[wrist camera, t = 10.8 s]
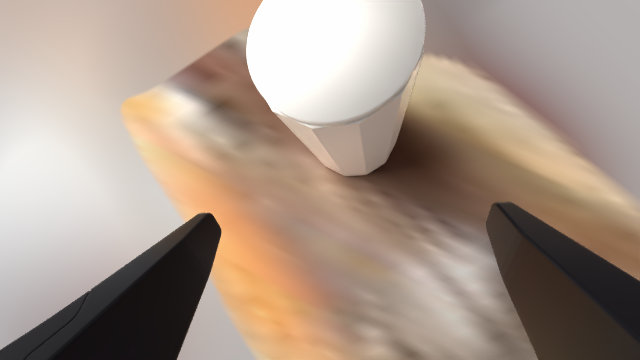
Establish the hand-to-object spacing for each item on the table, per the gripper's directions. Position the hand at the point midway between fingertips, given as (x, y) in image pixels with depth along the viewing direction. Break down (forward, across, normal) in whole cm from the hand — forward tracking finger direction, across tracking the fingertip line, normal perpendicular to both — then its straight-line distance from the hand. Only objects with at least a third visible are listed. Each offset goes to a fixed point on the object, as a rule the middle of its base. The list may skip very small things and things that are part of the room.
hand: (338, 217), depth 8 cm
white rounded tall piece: (+13, 0, +4) cm, 14 cm away
